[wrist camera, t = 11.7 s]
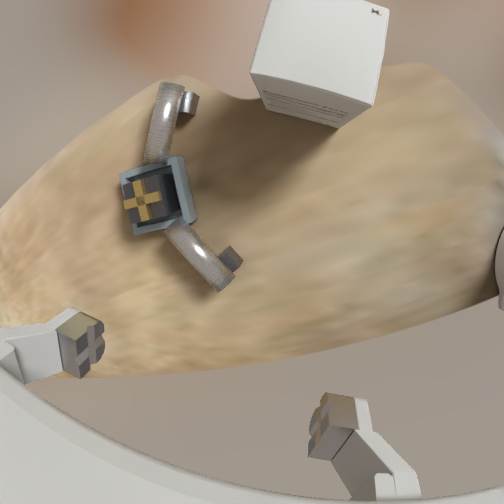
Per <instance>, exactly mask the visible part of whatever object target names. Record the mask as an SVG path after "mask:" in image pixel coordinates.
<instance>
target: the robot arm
mask: <svg viewBox="0 0 504 504" xmlns="http://www.w3.org/2000/svg"><path fill="white" fill-rule="evenodd" d="M495 276H496V281H497V284H498V287H499V308H500V309H502V310H504V230H503V232H502V234H501V237H500V240H499V243H498V247H497V251H496V258H495ZM103 332H104V324H103V323H102V322H101V321H100V320H97V319H95V318H93V317H91V316H89V315H87V314H85V313H83V312H81V311H79V310H77V309H75V308H73V307H69V308H67V309H66V310H64V311H63V312H61V313H60V314H59V315H57V316H56V317H54V318H53V319H51V320H50V321H48V322H47V323H46V324H43V323H37V324H29V325H22V326H14V327H7V328H0V504H504V487H499V486H497V487H492V488H488V489H483V490H479V491H474V492H469V493H464V494H458V495H451V496H445V497H437V498H428V499H422V497H421V492H420V488H419V483H418V478H417V474H416V472H415V471H414V470H413V469H412V468H411V467H410V466H409V465H408V464H407V463H406V462H405V461H404V460H403V459H402V458H401V457H400V456H399V455H398V454H397V453H396V451H394V449H393V448H392V447H391V446H390V445H389V444H388V443H387V442H386V441H385V440H384V439H383V438H382V437H381V436H380V435H379V434H378V433H377V432H373V427H372V422H371V417H370V412H369V407H368V402H367V400H366V399H364V398H357V397H348V396H342V395H337V394H331V393H326V392H325V394H324V395H323V396H322V398H321V400H320V407H318V408H316V409H315V411H314V413H313V416H312V418H311V422H310V427H309V434H310V435H311V436H312V438H311V439H310V441H309V446H308V457H312V458H317V459H324V460H330V461H331V463H332V464H333V466H334V468H335V469H336V471H337V473H338V474H339V476H340V478H341V479H342V481H343V483H344V484H345V486H346V487H347V489H348V491H349V492H350V494H351V496H352V498H351V499H350V500H332V499H321V498H312V497H304V496H296V495H289V494H283V493H277V492H272V491H266V490H261V489H256V488H251V487H247V486H243V485H238V484H234V483H231V482H227V481H223V480H219V479H216V478H212V477H209V476H206V475H202V474H199V473H196V472H193V471H190V470H187V469H184V468H181V467H178V466H175V465H173V464H170V463H167V462H165V461H162V460H160V459H157V458H155V457H152V456H150V455H147V454H145V453H143V452H140V451H138V450H136V449H134V448H131V447H129V446H127V445H125V444H123V443H120V442H118V441H116V440H114V439H112V438H110V437H108V436H106V435H104V434H102V433H100V432H99V431H97V430H95V429H93V428H91V427H89V426H87V425H86V424H84V423H82V422H80V421H79V420H77V419H75V418H73V417H72V416H70V415H68V414H67V413H65V412H64V411H62V410H60V409H59V408H57V407H56V406H54V405H53V404H51V403H49V402H48V401H46V400H45V399H43V398H42V397H41V396H39V395H38V394H36V393H35V392H33V391H32V390H31V389H29V388H28V387H26V386H25V384H26V383H30V382H32V381H36V380H39V379H41V378H45V377H48V376H51V375H53V374H56V373H59V372H62V371H63V370H64V371H66V372H68V373H70V374H72V375H74V376H75V377H77V378H79V379H81V378H83V377H84V375H85V374H86V373H87V372H88V371H89V370H90V364H94V363H97V362H98V361H99V360H100V359H101V357H102V355H103V353H104V349H105V341H104V339H103V337H102V335H101V334H102V333H103Z"/></svg>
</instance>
